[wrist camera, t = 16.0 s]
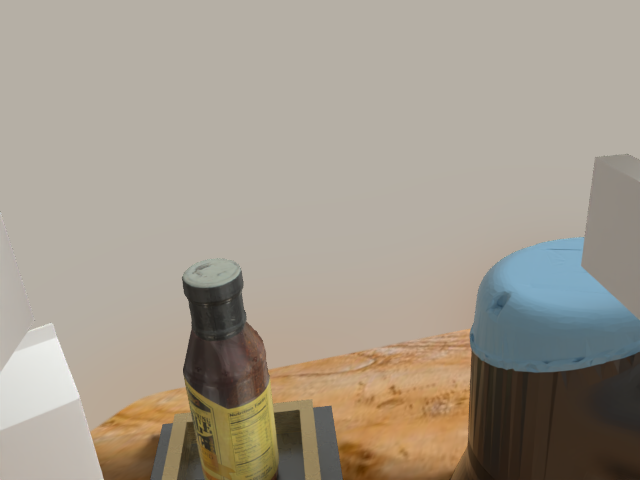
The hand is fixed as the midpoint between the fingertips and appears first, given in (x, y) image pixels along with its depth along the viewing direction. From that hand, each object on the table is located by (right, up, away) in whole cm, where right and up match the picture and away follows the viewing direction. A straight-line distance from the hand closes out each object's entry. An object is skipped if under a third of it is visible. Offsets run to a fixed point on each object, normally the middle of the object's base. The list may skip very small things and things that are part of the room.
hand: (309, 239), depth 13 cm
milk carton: (-20, -24, +33) cm, 45 cm away
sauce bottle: (-6, -20, +36) cm, 41 cm away
